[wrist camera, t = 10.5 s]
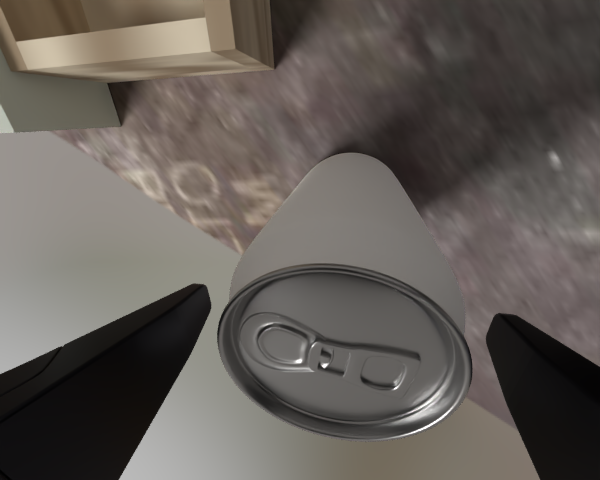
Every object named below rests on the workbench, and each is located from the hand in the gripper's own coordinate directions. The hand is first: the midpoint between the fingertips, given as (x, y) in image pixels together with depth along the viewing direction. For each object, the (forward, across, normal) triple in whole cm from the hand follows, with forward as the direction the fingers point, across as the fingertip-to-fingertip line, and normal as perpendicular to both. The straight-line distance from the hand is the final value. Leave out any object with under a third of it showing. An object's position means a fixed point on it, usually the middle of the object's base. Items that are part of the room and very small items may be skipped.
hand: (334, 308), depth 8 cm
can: (+10, 0, 0) cm, 10 cm away
